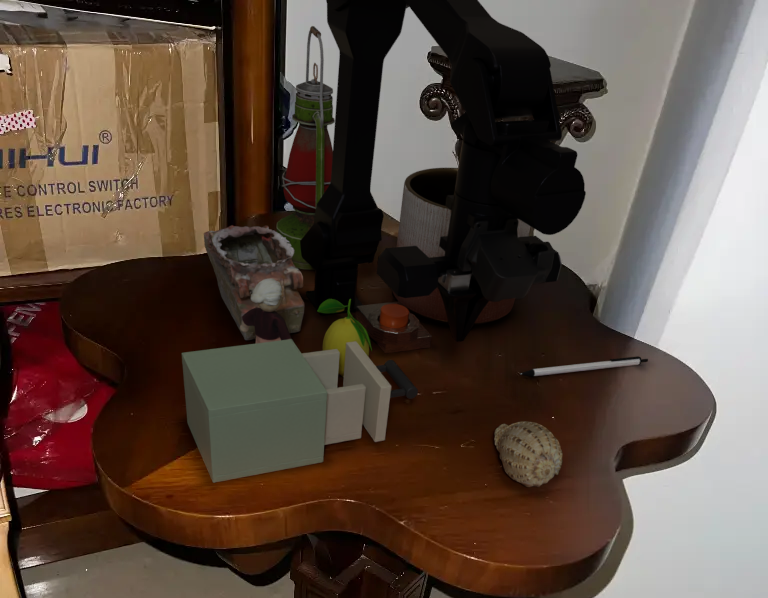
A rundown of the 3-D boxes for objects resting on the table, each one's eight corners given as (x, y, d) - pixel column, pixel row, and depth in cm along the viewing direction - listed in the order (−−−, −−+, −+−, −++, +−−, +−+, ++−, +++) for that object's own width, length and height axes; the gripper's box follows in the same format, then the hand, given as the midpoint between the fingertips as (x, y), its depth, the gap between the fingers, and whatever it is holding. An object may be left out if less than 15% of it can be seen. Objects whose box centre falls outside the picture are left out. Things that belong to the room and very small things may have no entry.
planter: (434, 340, 102) (452, 221, 92) (368, 283, 113) (378, 171, 103) (537, 318, 110) (565, 207, 100) (466, 267, 121) (484, 162, 110)
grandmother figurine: (304, 384, 91) (308, 282, 83) (288, 399, 88) (290, 295, 80) (248, 365, 93) (246, 264, 85) (230, 379, 90) (226, 276, 82)
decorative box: (199, 350, 94) (194, 275, 88) (183, 278, 108) (177, 209, 102) (305, 344, 98) (308, 271, 92) (276, 275, 112) (276, 208, 106)
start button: (375, 317, 99) (376, 305, 97) (400, 314, 100) (401, 302, 99) (386, 331, 96) (387, 318, 95) (412, 327, 97) (413, 315, 96)
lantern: (353, 273, 115) (370, 42, 95) (283, 275, 112) (285, 38, 93) (331, 236, 125) (343, 20, 105) (266, 237, 122) (265, 15, 102)
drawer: (384, 388, 90) (391, 336, 86) (420, 433, 84) (428, 380, 80) (263, 407, 85) (263, 353, 80) (291, 457, 79) (292, 401, 74)
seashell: (471, 479, 85) (534, 497, 77) (465, 427, 83) (529, 439, 75) (523, 460, 88) (589, 476, 80) (519, 409, 86) (586, 420, 78)
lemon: (314, 361, 95) (318, 285, 88) (361, 361, 96) (368, 285, 90) (321, 391, 90) (326, 312, 84) (371, 390, 91) (379, 312, 85)
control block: (344, 318, 104) (346, 294, 102) (398, 312, 107) (401, 288, 105) (378, 360, 97) (380, 335, 94) (434, 352, 100) (438, 327, 97)
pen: (647, 364, 102) (650, 357, 102) (521, 378, 96) (523, 371, 96) (644, 361, 103) (646, 353, 102) (518, 375, 97) (520, 367, 96)
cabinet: (290, 407, 87) (291, 338, 81) (323, 462, 80) (327, 391, 74) (187, 423, 83) (181, 352, 77) (212, 483, 76) (208, 410, 70)
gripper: (435, 234, 65) (413, 391, 75) (612, 220, 72) (569, 366, 82) (382, 187, 72) (368, 336, 83) (547, 178, 79) (515, 317, 89)
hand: (457, 340), depth 84 cm, fingers closed
